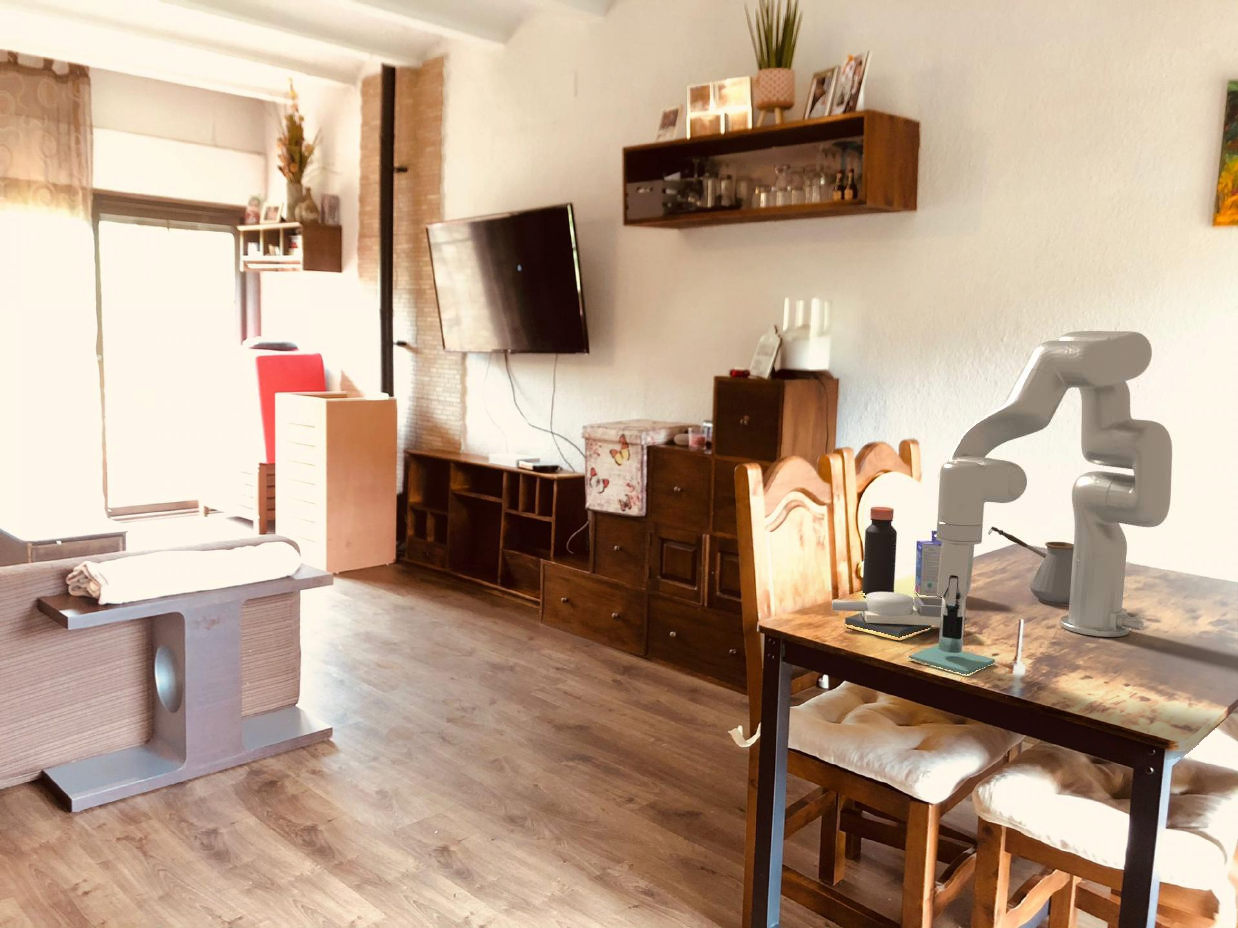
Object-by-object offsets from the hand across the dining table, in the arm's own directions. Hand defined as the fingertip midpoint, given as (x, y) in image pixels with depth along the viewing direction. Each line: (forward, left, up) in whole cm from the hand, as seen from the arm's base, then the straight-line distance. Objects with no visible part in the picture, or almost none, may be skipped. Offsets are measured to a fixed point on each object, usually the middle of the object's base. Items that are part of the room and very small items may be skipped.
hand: (953, 633), depth 175 cm
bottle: (+34, -30, -6) cm, 46 cm away
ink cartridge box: (+26, -42, -6) cm, 50 cm away
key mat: (0, 0, -5) cm, 5 cm away
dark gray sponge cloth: (+19, -10, -5) cm, 22 cm away
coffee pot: (+11, -57, -6) cm, 58 cm away
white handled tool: (+18, -11, -3) cm, 21 cm away
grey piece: (0, 0, -3) cm, 3 cm away
